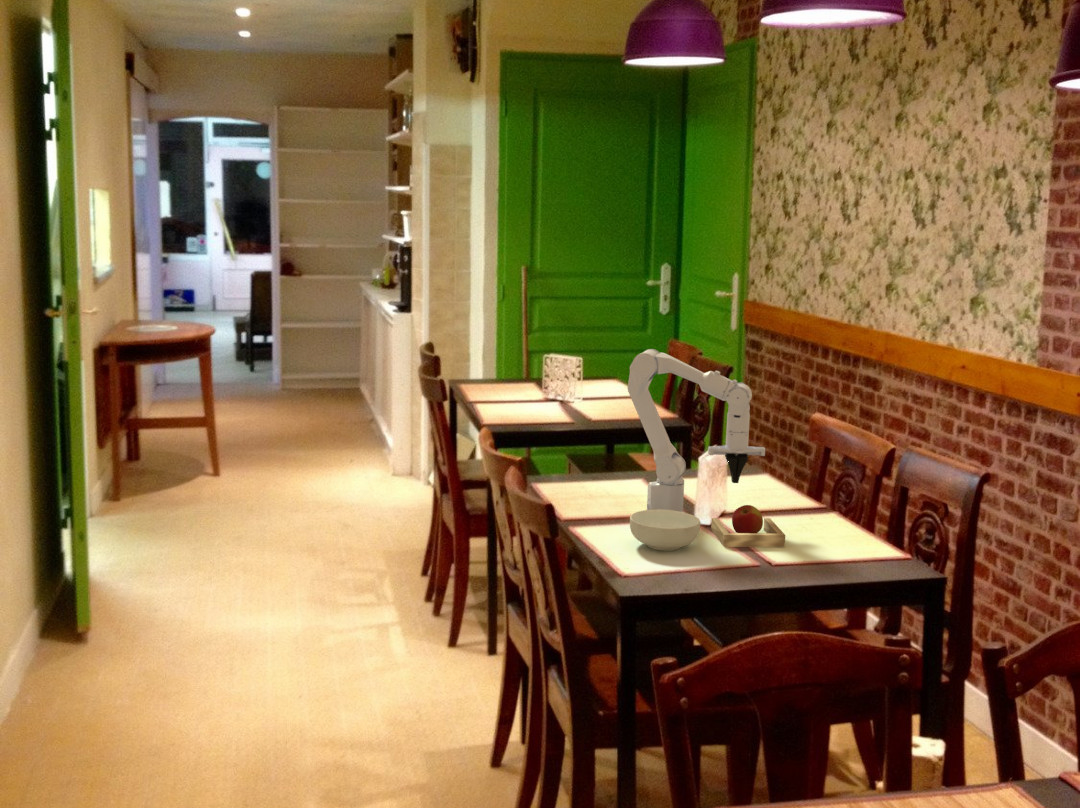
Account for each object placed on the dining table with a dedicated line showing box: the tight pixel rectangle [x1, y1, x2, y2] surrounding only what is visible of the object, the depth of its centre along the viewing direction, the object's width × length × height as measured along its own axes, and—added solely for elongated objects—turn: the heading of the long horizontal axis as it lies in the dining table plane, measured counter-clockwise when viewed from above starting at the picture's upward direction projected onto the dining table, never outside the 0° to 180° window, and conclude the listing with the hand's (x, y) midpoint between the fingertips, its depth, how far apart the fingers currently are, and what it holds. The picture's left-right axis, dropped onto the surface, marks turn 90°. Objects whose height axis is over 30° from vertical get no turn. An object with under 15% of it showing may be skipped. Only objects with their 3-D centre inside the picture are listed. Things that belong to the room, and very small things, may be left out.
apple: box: [731, 504, 764, 533], centre depth 316 cm, size 8×8×8 cm
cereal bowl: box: [629, 509, 701, 552], centre depth 306 cm, size 17×17×7 cm
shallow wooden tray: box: [710, 517, 786, 548], centre depth 315 cm, size 15×16×3 cm
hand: (734, 482), depth 329 cm, fingers closed
